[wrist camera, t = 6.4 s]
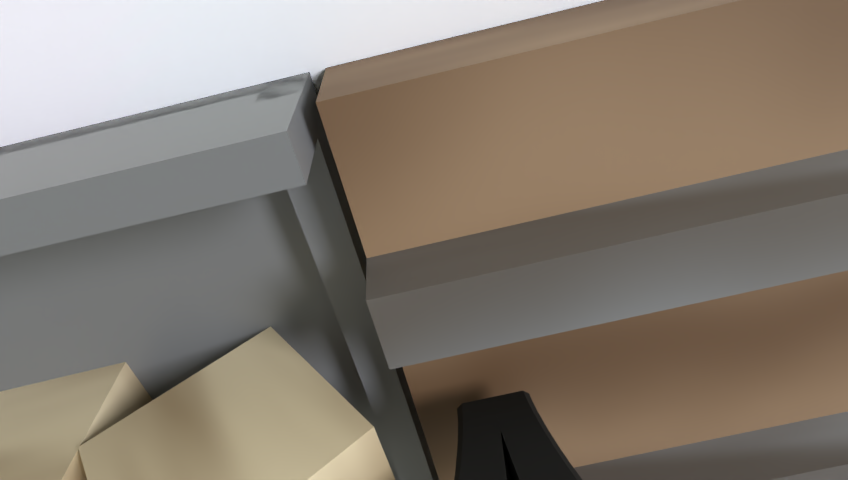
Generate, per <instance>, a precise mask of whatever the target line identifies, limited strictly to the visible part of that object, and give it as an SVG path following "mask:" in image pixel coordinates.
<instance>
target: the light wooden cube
mask: <svg viewBox="0 0 848 480" xmlns="http://www.w3.org/2000/svg"><path fill="white" fill-rule="evenodd" d="M78 449H79V453H80V456H81V459H82V463H83V466H84V470H85V473H86V477H87V480H395V478H394V475H393V473H392V470H391V468H390V465H389V463H388V460H387V458H386V455H385V453H384V451H383V448H382V446H381V443H380V441H379V438H378V436H377V433H376V431H375V428H374V426H373V425H371V424H370V423H369V422H368V421H367V420H366V419H365V418H364V417H363V416H362V415H361V414H360V413H359V412H358V411H357V410H356V409H355V408H354V407H353V406H352V405H351V404H350V403H349V402H348V401H347V400H346V399H345V398H344V397H343V396H342V395H341V394H340V393H339V392H338V391H337V390H336V389H334V388H333V387H332V386H331V385H330V384H329V383H328V382H327V381H326V380H325V379H324V378H323V377H322V376H321V375H320V374H319V373H318V372H317V371H316V370H315V369H314V368H313V367H312V366H311V365H310V364H309V363H308V362H307V361H306V360H305V359H304V358H303V357H302V356H301V355H300V354H299V353H297V352H296V351H295V350H294V349H293V348H292V347H291V346H290V345H289V344H288V343H287V342H286V341H285V340H284V339H283V338H282V337H281V336H280V335H279V334H278V333H277V332H276V331H275V330H274V329H273V328H272V327H271V326H270V327H269V328H267V329H266V330H264V331H262V332H261V333H259V334H258V335H256V336H254V337H253V338H251V339H250V340H248V341H246V342H245V343H243V344H242V345H240V346H239V347H237V348H235V349H234V350H232V351H231V352H229V353H227V354H226V355H224V356H223V357H221V358H219V359H218V360H216V361H215V362H213V363H211V364H210V365H208V366H207V367H205V368H203V369H202V370H200V371H199V372H197V373H195V374H194V375H192V376H191V377H189V378H187V379H186V380H184V381H183V382H181V383H180V384H178V385H176V386H175V387H173V388H172V389H170V390H168V391H167V392H165V393H164V394H162V395H160V396H159V397H157V398H156V399H154V400H152V401H151V402H149V403H148V404H146V405H144V406H143V407H141V408H140V409H138V410H136V411H135V412H133V413H132V414H130V415H129V416H127V417H125V418H124V419H122V420H121V421H119V422H117V423H116V424H114V425H113V426H111V427H109V428H108V429H106V430H105V431H103V432H101V433H100V434H98V435H97V436H95V437H93V438H92V439H90V440H89V441H87V442H85V443H84V444H82V445H81V446H79V447H78Z"/></svg>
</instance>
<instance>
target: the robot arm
mask: <svg viewBox="0 0 848 480" xmlns="http://www.w3.org/2000/svg"><path fill="white" fill-rule="evenodd" d="M457 415H458V444H457V457H456V468H455V477H454V480H582V479H581V477H580V476H579V474H578V473H577V472H576V470H575V469H574V468H573V466H572V465H571V463H570V462H569V461H568V459H567V458H566V456H565V455H564V453H563V452H562V450H561V449H560V447H559V446H558V444H557V443H556V441H555V440H554V438H553V436H552V435H551V433H550V432H549V430H548V428H547V427H546V425H545V423H544V422H543V420H542V418H541V416H540V415H539V413H538V411H537V409H536V407H535V405H534V403H533V401H532V399H531V397H530V394H529V393H527V392H525V391H518V392H513V393H509V394H504V395H499V396H494V397H490V398H485V399H480V400H475V401H471V402H466V403H462V404H461V405H460V406H459V407H458V408H457Z"/></svg>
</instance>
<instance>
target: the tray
mask: <svg viewBox="0 0 848 480" xmlns="http://www.w3.org/2000/svg"><path fill="white" fill-rule="evenodd" d="M316 100H317V94H316V91H315V88H314V85H313V82H312V79H311V76H310V73H309V72H308V73H304V74H300V75H296V76H291V77H287V78H283V79H279V80H275V81H271V82H267V83H263V84H259V85H254V86H250V87H246V88H242V89H238V90H234V91H230V92H226V93H222V94H217V95H213V96H209V97H205V98H201V99H197V100H193V101H189V102H185V103H180V104H176V105H172V106H168V107H164V108H160V109H156V110H152V111H148V112H143V113H139V114H135V115H131V116H127V117H123V118H119V119H115V120H110V121H106V122H102V123H98V124H94V125H90V126H86V127H82V128H78V129H73V130H69V131H65V132H61V133H57V134H53V135H49V136H45V137H41V138H36V139H32V140H28V141H24V142H20V143H16V144H12V145H8V146H4V147H0V392H1V391H5V390H9V389H13V388H18V387H22V386H26V385H30V384H34V383H39V382H43V381H47V380H51V379H56V378H60V377H64V376H68V375H72V374H77V373H81V372H85V371H89V370H94V369H98V368H102V367H106V366H110V365H115V364H119V363H123V362H126V363H127V364H128V366H129V367H130V369H131V370H132V371H133V373H134V374H135V376H136V377H137V378H138V380H139V381H140V383H141V384H142V385H143V387H144V388H145V390H146V391H147V392H148V394H149V395H150V397H151V398H152V399H153V400H154V399H156V398H157V397H159V396H160V395H162V394H164V393H165V392H167V391H168V390H170V389H172V388H173V387H175V386H176V385H178V384H180V383H181V382H183V381H184V380H186V379H187V378H189V377H191V376H192V375H194V374H195V373H197V372H199V371H200V370H202V369H203V368H205V367H207V366H208V365H210V364H211V363H213V362H215V361H216V360H218V359H219V358H221V357H223V356H224V355H226V354H227V353H229V352H231V351H232V350H234V349H235V348H237V347H239V346H240V345H242V344H243V343H245V342H246V341H248V340H250V339H251V338H253V337H254V336H256V335H258V334H259V333H261V332H262V331H264V330H266V329H267V328H269V327H270V326H271V327H272V328H273V329H274V330H275V331H276V332H277V333H278V334H279V335H280V336H281V337H282V338H283V339H284V340H285V341H286V342H287V343H288V344H289V345H290V346H291V347H292V348H293V349H294V350H295V351H296V352H297V353H299V354H300V355H301V356H302V357H303V358H304V359H305V360H306V361H307V362H308V363H309V364H310V365H311V366H312V367H313V368H314V369H315V370H316V371H317V372H318V373H319V374H320V375H321V376H322V377H323V378H324V379H325V380H326V381H327V382H328V383H329V384H330V385H331V386H332V387H333V388H334V389H336V390H337V391H338V392H339V393H340V394H341V395H342V396H343V397H344V398H345V399H346V400H347V401H348V402H349V403H350V404H351V405H352V406H353V407H354V408H355V409H356V410H357V411H358V412H359V413H360V414H361V415H362V416H363V417H364V418H365V419H366V420H367V421H368V422H369V423H370V424H371V425H373V426H374V428H375V431H376V433H377V436H378V438H379V441H380V443H381V446H382V448H383V451H384V453H385V455H386V458H387V460H388V463H389V465H390V468H391V470H392V473H393V475H394V478H395V480H439V478H438V475H437V472H436V469H435V465H434V462H433V459H432V456H431V453H430V450H429V447H428V444H427V441H426V438H425V435H424V432H423V429H422V426H421V423H420V420H419V417H418V414H417V410H416V407H415V404H414V401H413V398H412V395H411V392H410V389H409V386H408V383H407V380H406V377H405V374H404V371H403V368H402V367H400V368H395V369H391V370H390V369H389V366H388V363H387V361H386V358H385V355H384V352H383V349H382V346H381V343H380V340H379V337H378V334H377V332H376V329H375V326H374V323H373V320H372V317H371V314H370V311H369V308H368V306H367V303H366V266H367V258H366V255H365V252H364V249H363V246H362V242H361V239H360V236H359V233H358V230H357V227H356V224H355V221H354V218H353V215H352V212H351V209H350V206H349V203H348V200H347V197H346V194H345V191H344V187H343V184H342V181H341V178H340V175H339V172H338V169H337V166H336V163H335V160H334V157H333V154H332V151H331V148H330V145H329V142H328V139H327V136H326V133H325V129H324V126H323V123H322V120H321V117H320V114H319V111H318V108H317V105H316Z"/></svg>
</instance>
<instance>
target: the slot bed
mask: <svg viewBox="0 0 848 480" xmlns="http://www.w3.org/2000/svg"><path fill="white" fill-rule="evenodd" d="M316 105H317V108H318V111H319V114H320V117H321V120H322V123H323V126H324V129H325V133H326V136H327V139H328V142H329V145H330V148H331V151H332V154H333V157H334V160H335V163H336V166H337V169H338V172H339V175H340V178H341V181H342V184H343V187H344V191H345V194H346V197H347V200H348V203H349V206H350V209H351V212H352V215H353V218H354V221H355V224H356V227H357V230H358V233H359V236H360V239H361V242H362V246H363V249H364V252H365V255H366V258H367V266H366V303H367V306H368V308H369V311H370V314H371V317H372V320H373V323H374V326H375V329H376V332H377V334H378V337H379V340H380V343H381V346H382V349H383V352H384V355H385V358H386V361H387V363H388V366H389V369H390V370H391V369H395V368H400V367H402V368H403V371H404V374H405V377H406V380H407V383H408V386H409V389H410V392H411V395H412V398H413V401H414V404H415V407H416V410H417V414H418V417H419V420H420V423H421V426H422V429H423V432H424V435H425V438H426V441H427V444H428V447H429V450H430V453H431V456H432V459H433V462H434V465H435V469H436V472H437V475H438V478H439V480H454V477H455V468H456V457H457V444H458V415H457V408H458V407H459V406H460V405H461V404H462V403H466V402H471V401H475V400H480V399H485V398H490V397H494V396H499V395H504V394H509V393H513V392H518V391H525V392H527V393H529V394H530V397H531V399H532V401H533V403H534V405H535V407H536V409H537V411H538V413H539V415H540V416H541V418H542V420H543V422H544V423H545V425H546V427H547V428H548V430H549V432H550V433H551V435H552V436H553V438H554V440H555V441H556V443H557V444H558V446H559V447H560V449H561V450H562V452H563V453H564V455H565V456H566V458H567V459H568V461H569V462H570V463H571V465H572V466H573V468H574V469H575V470H576V472H577V473H578V474H579V476H580V477H581V479H582V480H848V0H604V1H600V2H596V3H592V4H588V5H584V6H579V7H575V8H571V9H567V10H563V11H559V12H555V13H551V14H547V15H542V16H538V17H534V18H530V19H526V20H522V21H518V22H514V23H510V24H505V25H501V26H497V27H493V28H489V29H485V30H481V31H477V32H472V33H468V34H464V35H460V36H456V37H452V38H448V39H444V40H440V41H435V42H431V43H427V44H423V45H419V46H415V47H411V48H407V49H403V50H398V51H394V52H390V53H386V54H382V55H378V56H374V57H370V58H366V59H361V60H357V61H353V62H349V63H345V64H341V65H337V66H333V67H329V68H326V69H325V72H324V76H323V79H322V83H321V86H320V89H319V93H318V96H317V100H316Z"/></svg>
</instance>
